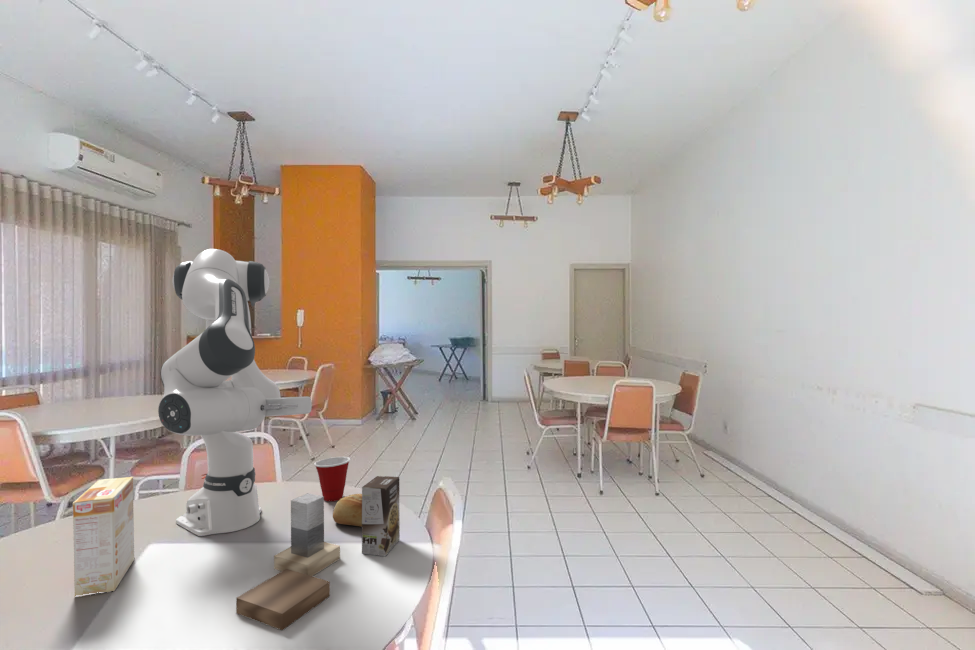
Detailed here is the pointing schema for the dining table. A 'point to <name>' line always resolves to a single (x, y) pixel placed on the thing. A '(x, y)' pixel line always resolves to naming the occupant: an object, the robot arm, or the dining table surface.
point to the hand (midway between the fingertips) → (290, 405)
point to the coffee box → (380, 515)
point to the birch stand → (307, 560)
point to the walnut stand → (283, 598)
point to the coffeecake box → (103, 535)
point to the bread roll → (349, 510)
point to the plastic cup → (332, 477)
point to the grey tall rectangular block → (307, 525)
